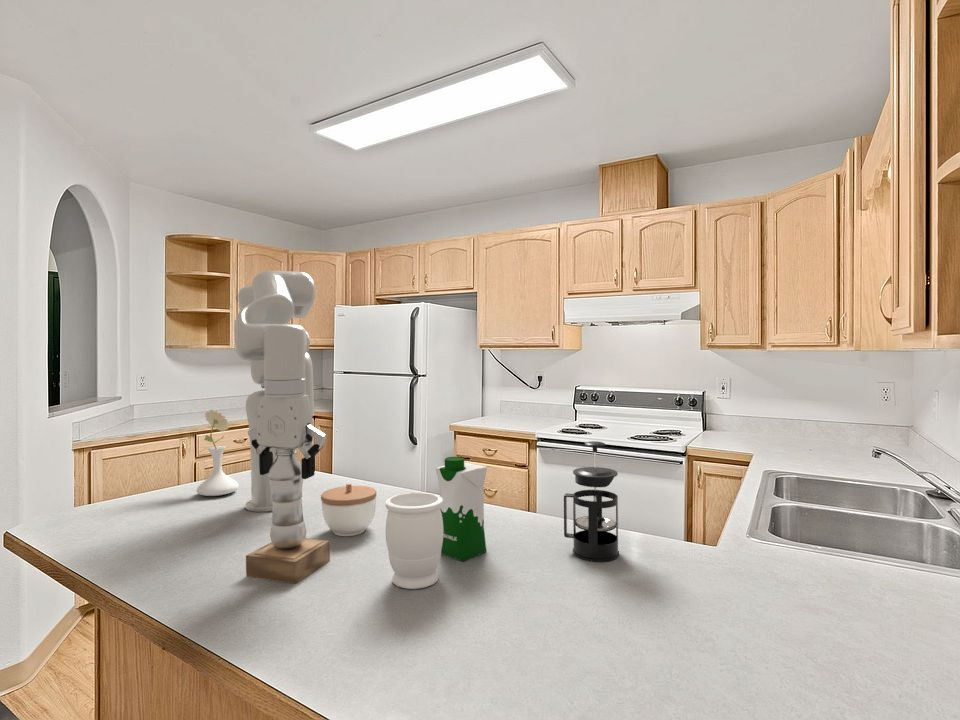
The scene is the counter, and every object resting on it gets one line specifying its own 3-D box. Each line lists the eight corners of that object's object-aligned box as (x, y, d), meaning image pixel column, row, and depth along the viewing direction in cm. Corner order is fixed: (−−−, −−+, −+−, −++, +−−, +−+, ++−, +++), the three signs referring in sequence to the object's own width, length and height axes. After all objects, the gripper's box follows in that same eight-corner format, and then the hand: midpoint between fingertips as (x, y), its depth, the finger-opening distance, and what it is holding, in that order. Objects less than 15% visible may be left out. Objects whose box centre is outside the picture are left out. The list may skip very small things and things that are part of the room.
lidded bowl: (310, 536, 123) (309, 488, 122) (343, 519, 134) (342, 475, 134) (356, 543, 118) (355, 493, 118) (387, 525, 130) (386, 480, 129)
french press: (624, 547, 114) (623, 439, 113) (620, 565, 105) (620, 447, 104) (568, 541, 117) (567, 436, 117) (560, 558, 108) (559, 444, 108)
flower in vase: (245, 493, 160) (243, 409, 159) (205, 501, 152) (202, 413, 151) (228, 485, 169) (225, 406, 168) (188, 493, 161) (186, 410, 160)
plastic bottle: (299, 552, 102) (297, 448, 102) (264, 552, 102) (262, 448, 102) (311, 540, 109) (309, 441, 108) (277, 540, 109) (275, 442, 108)
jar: (452, 572, 102) (451, 494, 102) (430, 596, 93) (428, 510, 92) (402, 565, 106) (401, 489, 105) (375, 588, 96) (374, 504, 96)
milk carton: (432, 553, 112) (431, 457, 111) (463, 541, 119) (462, 451, 118) (462, 564, 106) (461, 463, 105) (493, 551, 113) (492, 456, 112)
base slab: (284, 554, 112) (283, 534, 112) (329, 560, 109) (329, 540, 109) (246, 576, 102) (245, 554, 101) (295, 583, 98) (295, 561, 98)
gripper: (234, 388, 103) (237, 476, 104) (311, 391, 98) (313, 484, 99) (261, 385, 111) (263, 467, 111) (335, 387, 105) (336, 474, 106)
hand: (287, 475), depth 105 cm, fingers open, 9 cm apart
